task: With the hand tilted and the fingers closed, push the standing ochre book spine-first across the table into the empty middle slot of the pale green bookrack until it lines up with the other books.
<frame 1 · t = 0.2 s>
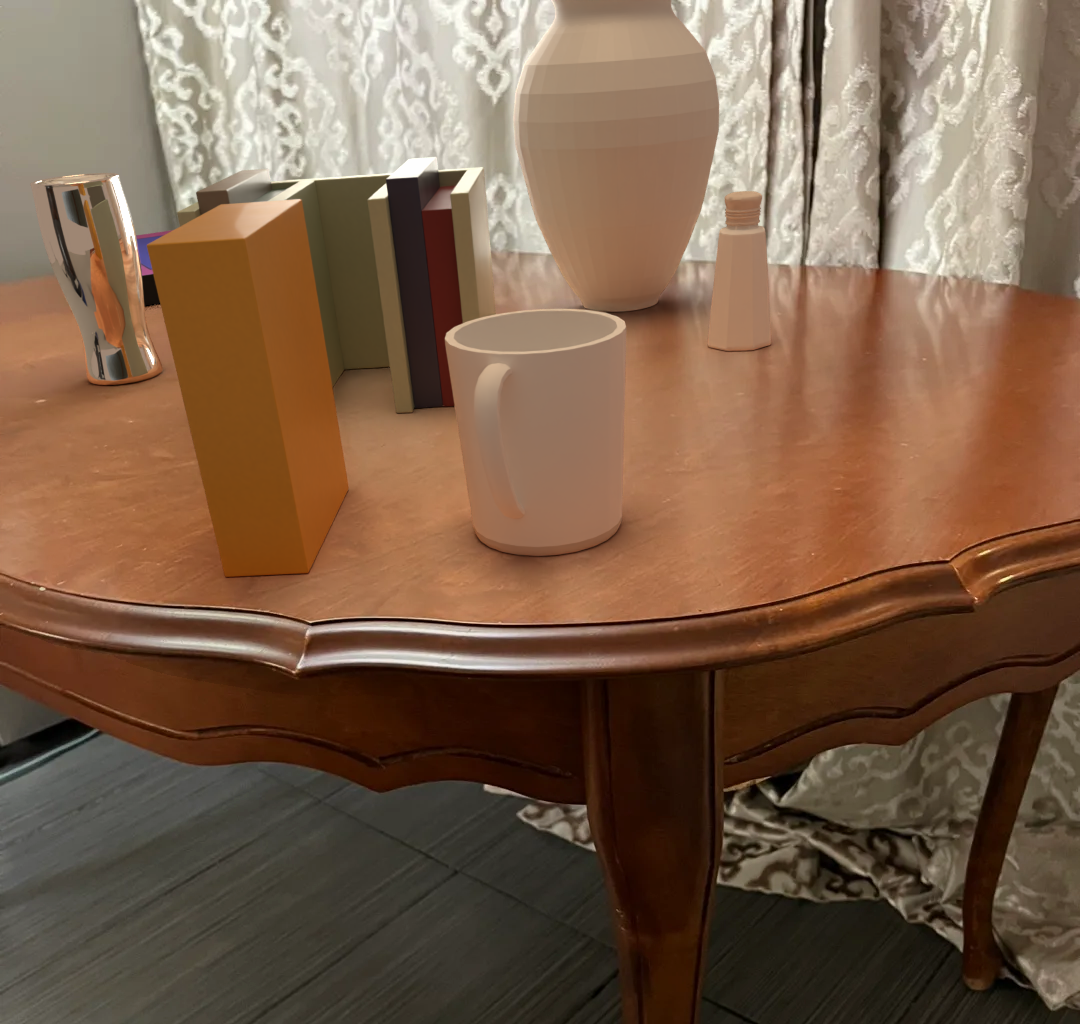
vase: (620, 305, 105), on the table
bookrack: (383, 363, 91), on the table
ochre book: (291, 529, 62), on the table
pepper shaker: (738, 345, 90), on the table
book: (201, 274, 133), on the table
mug: (540, 537, 60), on the table
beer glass: (126, 377, 94), on the table
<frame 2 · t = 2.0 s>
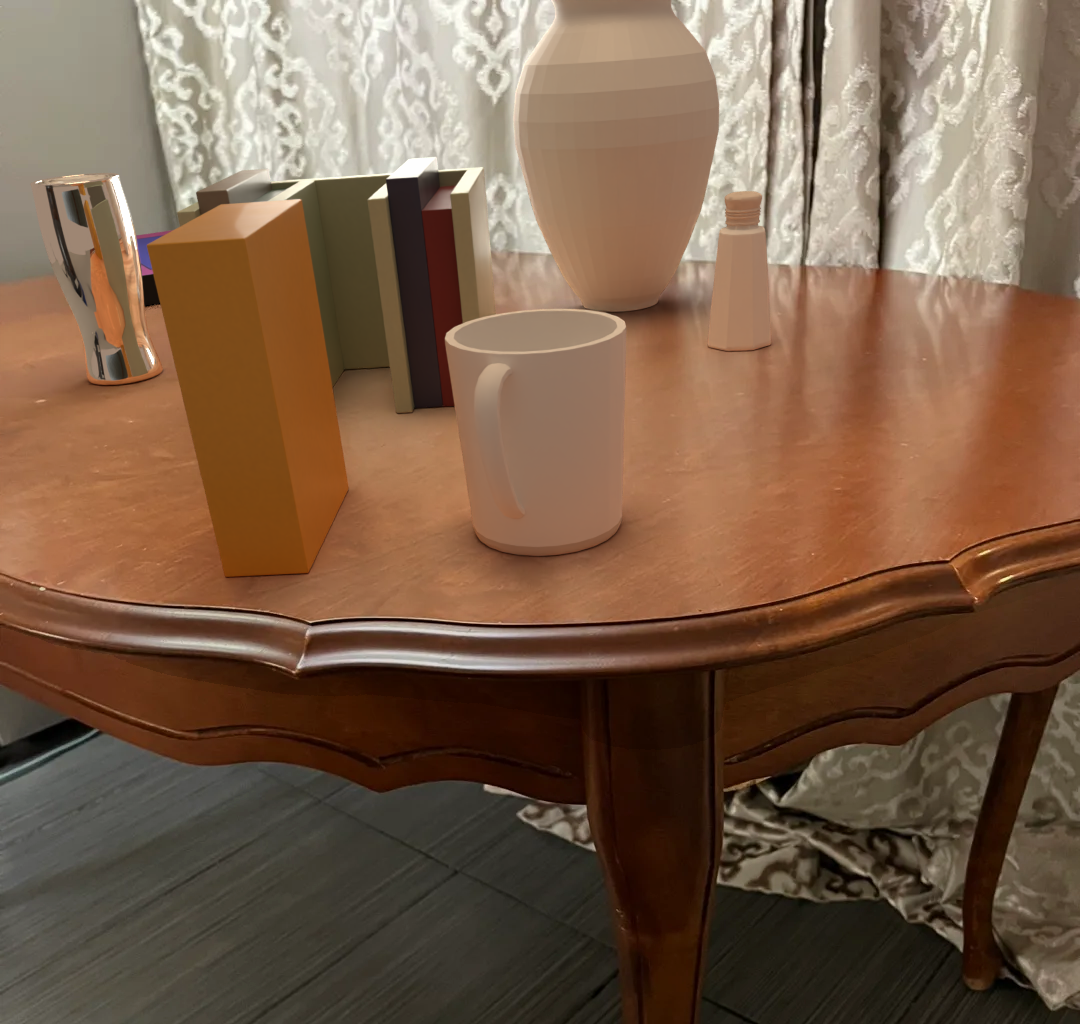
nothing on the table moved.
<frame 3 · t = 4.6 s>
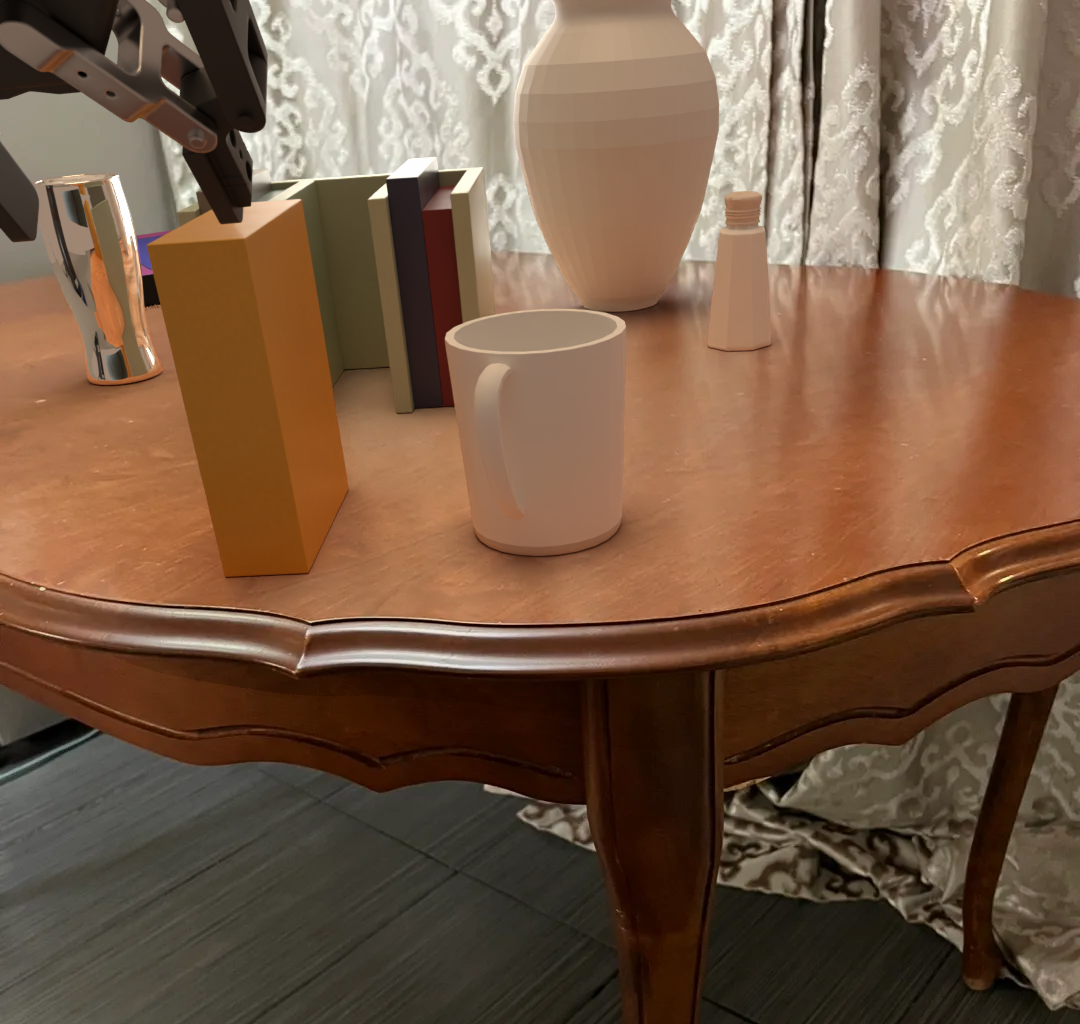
hand: (129, 211, 40), 18 cm above the table, tool tilted 45°, fingers open, 7 cm apart
nothing on the table moved.
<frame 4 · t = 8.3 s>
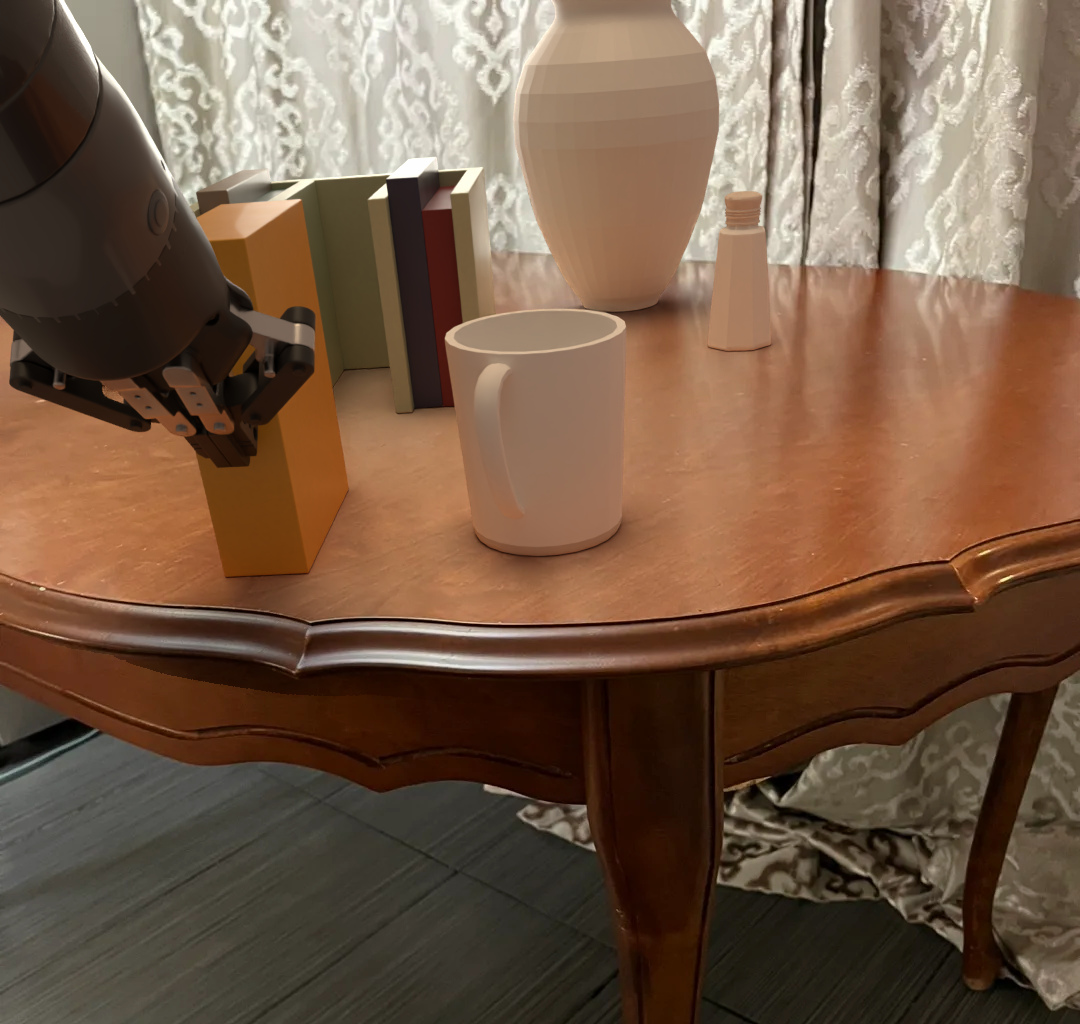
hand: (234, 449, 53), 7 cm above the table, tool tilted 45°, fingers closed
ochre book: (291, 529, 62), on the table, touching gripper
everything else where it was.
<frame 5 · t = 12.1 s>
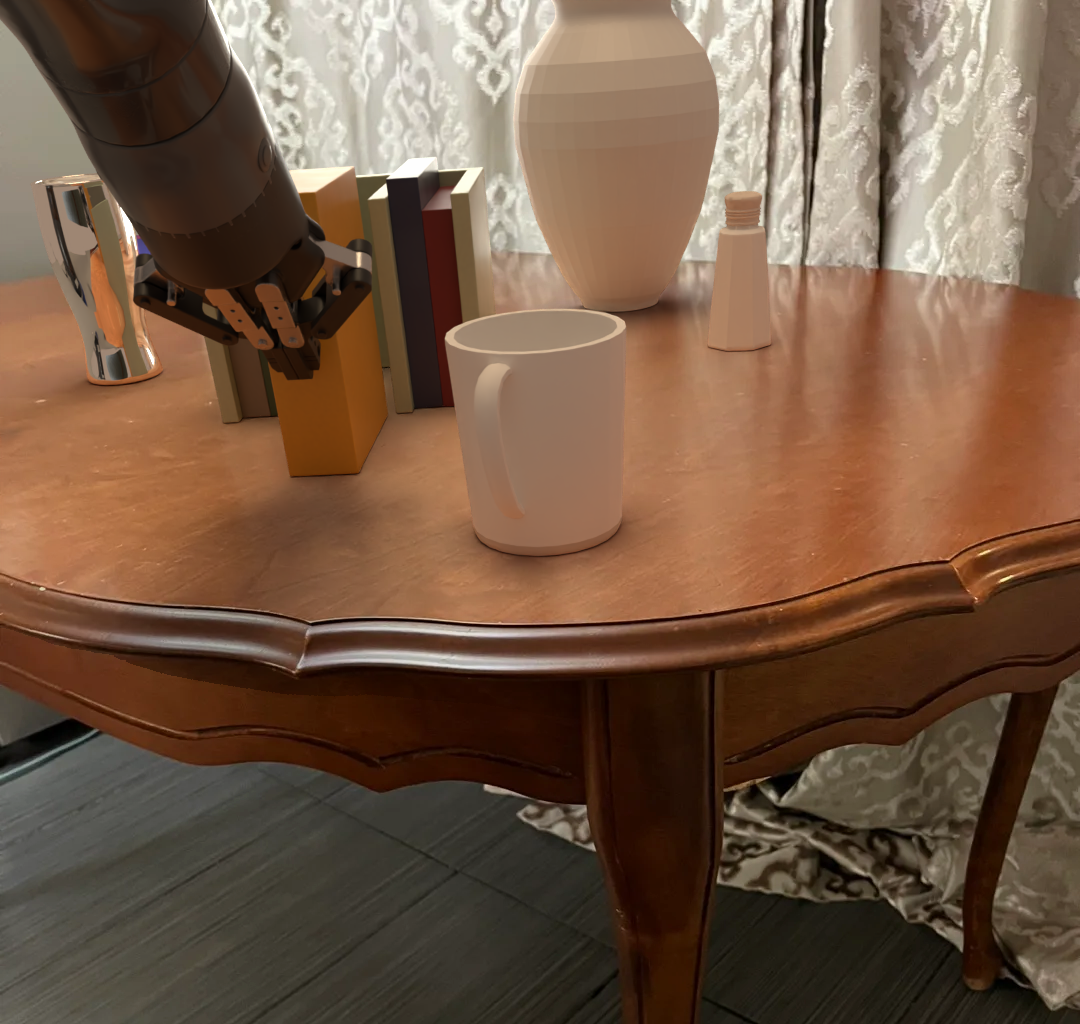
hand: (301, 365, 65), 7 cm above the table, tool tilted 45°, fingers closed
ochre book: (342, 443, 74), on the table, touching gripper
everything else where it was.
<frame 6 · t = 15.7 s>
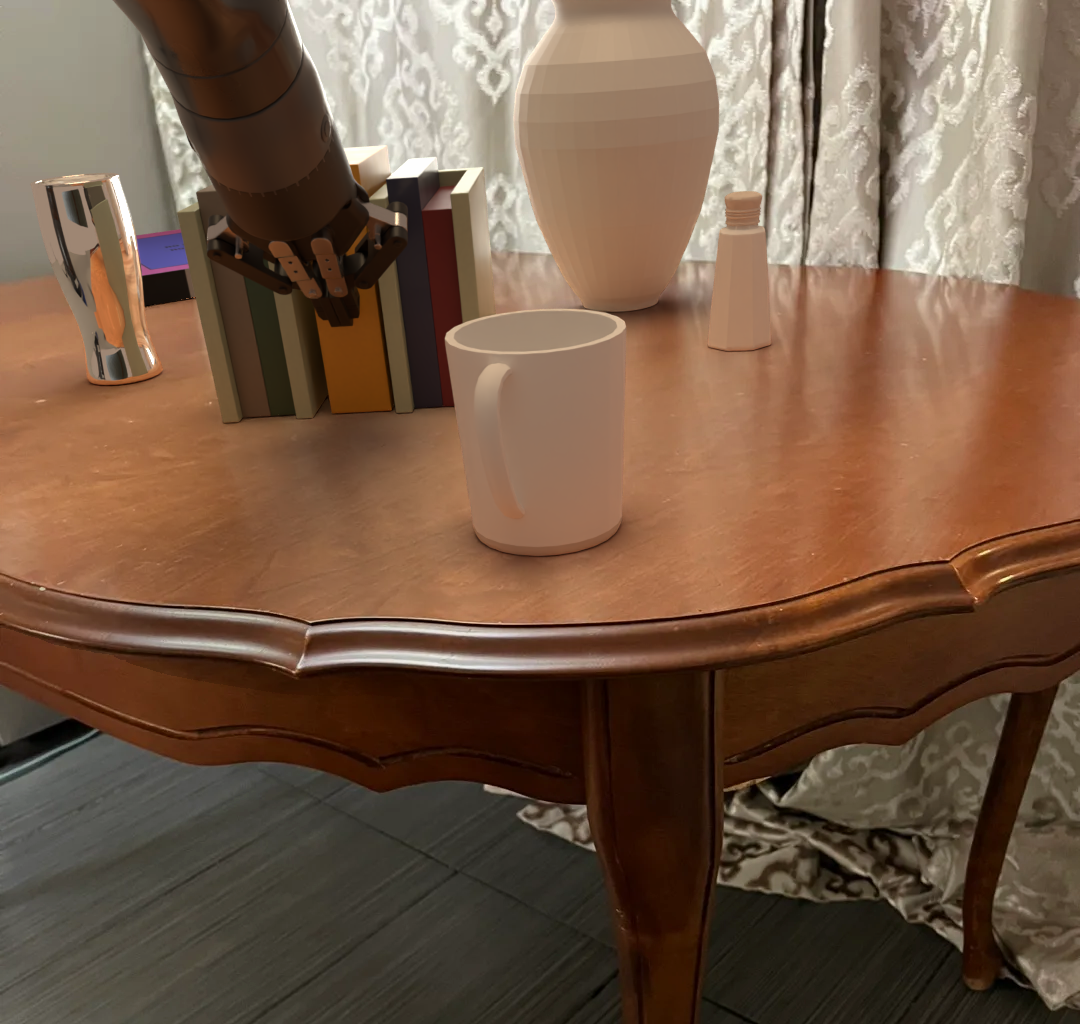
hand: (342, 314, 76), 7 cm above the table, tool tilted 45°, fingers closed
ochre book: (375, 388, 85), resting in bookrack, touching gripper
everything else where it was.
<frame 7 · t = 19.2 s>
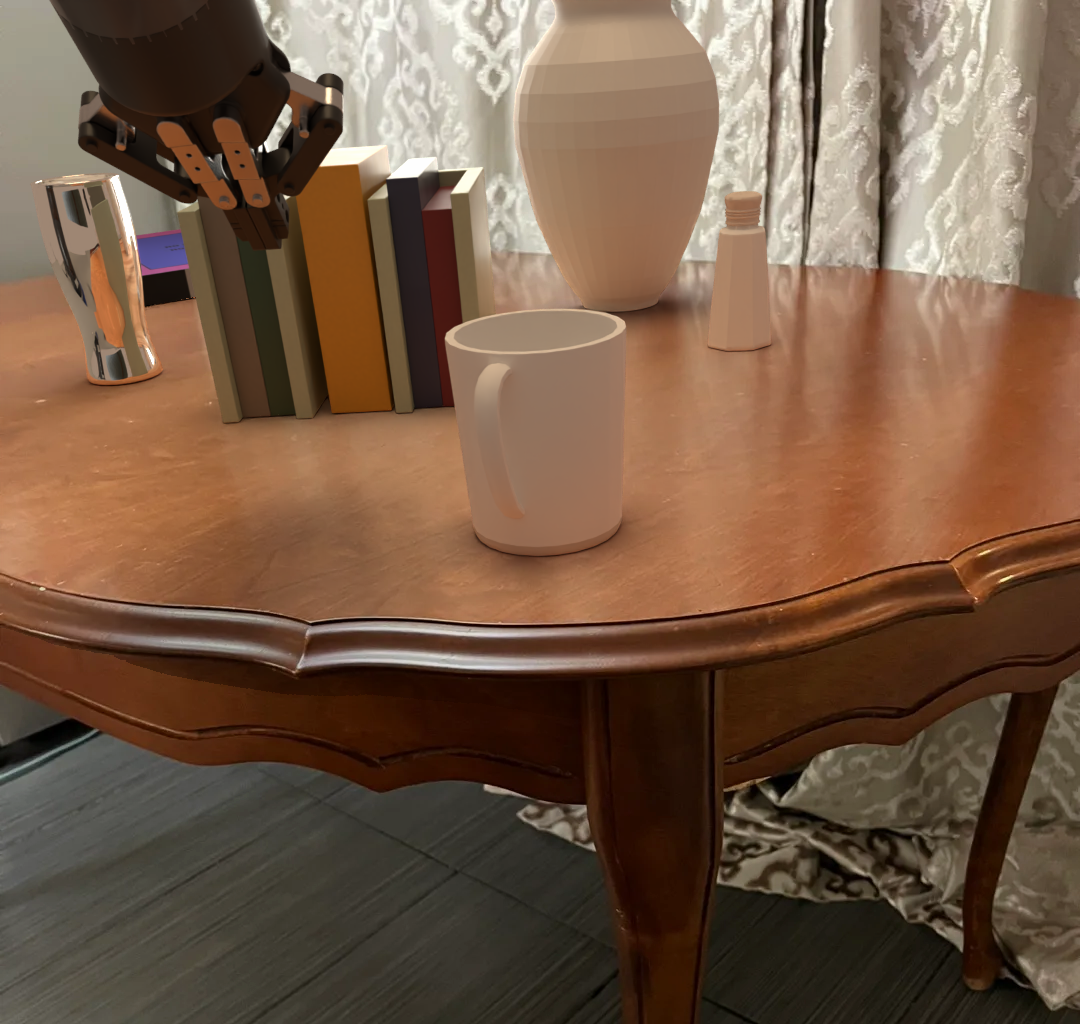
hand: (268, 235, 60), 14 cm above the table, tool tilted 45°, fingers closed
ochre book: (375, 388, 85), resting in bookrack
everything else where it was.
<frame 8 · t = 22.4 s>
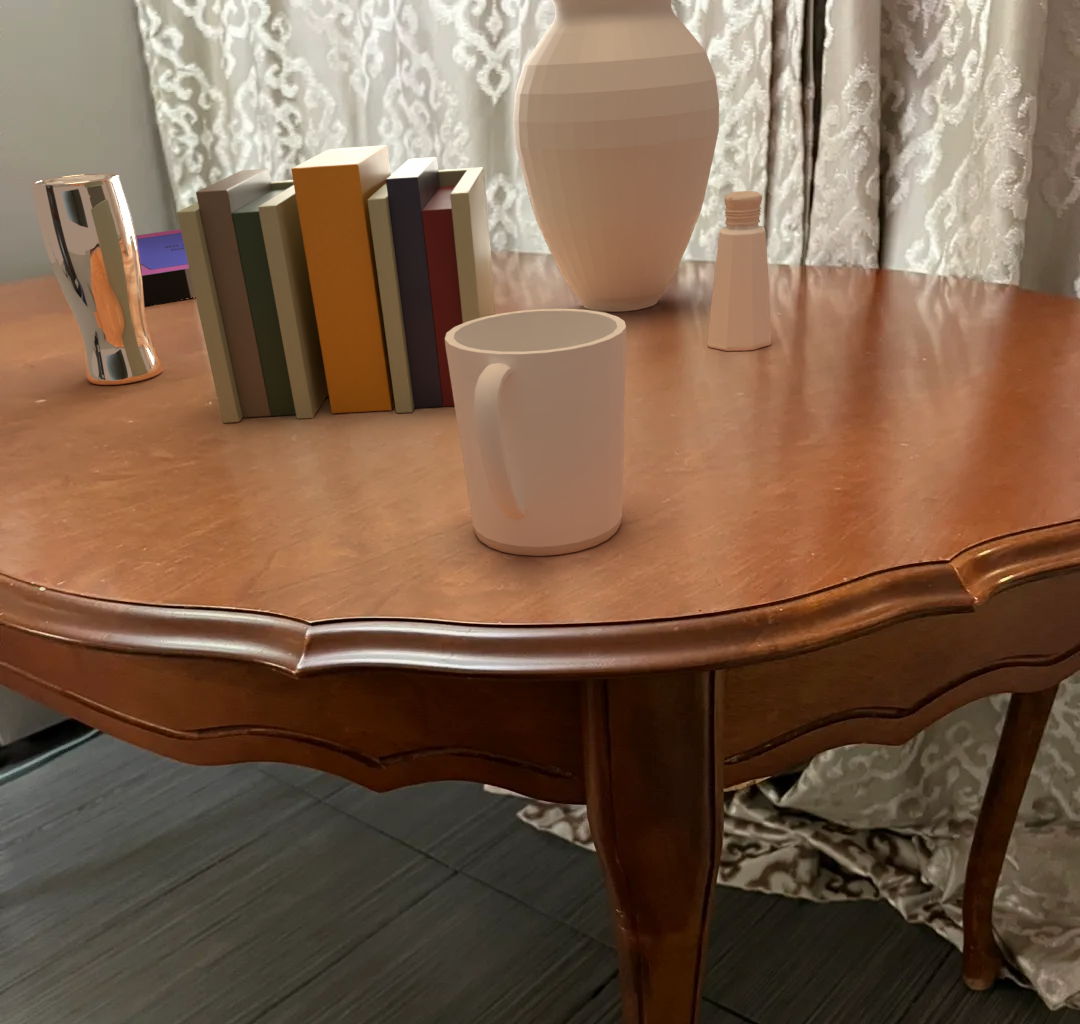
nothing on the table moved.
at the end: ochre book 0.6 cm from the target spot on the bookrack, point 0.0 cm above the bookrack's base; ochre book tilted 0° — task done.
